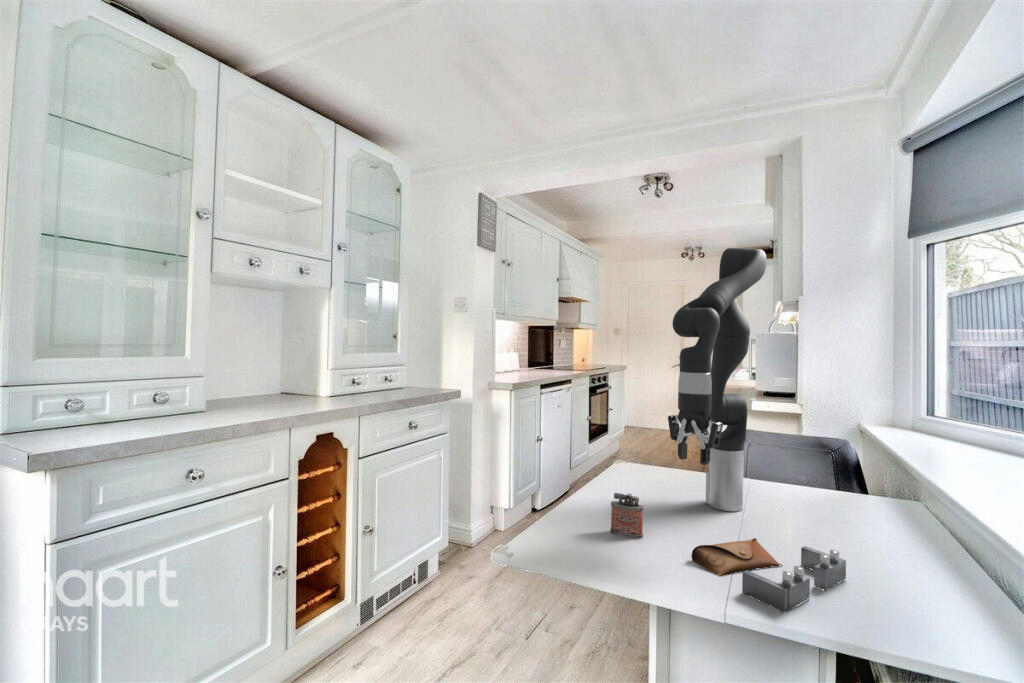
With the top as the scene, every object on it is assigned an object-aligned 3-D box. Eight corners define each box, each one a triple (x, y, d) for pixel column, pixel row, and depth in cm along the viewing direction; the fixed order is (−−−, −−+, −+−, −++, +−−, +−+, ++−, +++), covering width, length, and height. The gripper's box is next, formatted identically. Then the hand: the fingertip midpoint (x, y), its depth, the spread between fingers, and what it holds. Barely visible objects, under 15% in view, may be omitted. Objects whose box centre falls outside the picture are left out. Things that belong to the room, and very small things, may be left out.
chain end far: (783, 574, 100) (783, 545, 100) (804, 564, 105) (804, 536, 105) (825, 591, 93) (825, 560, 93) (845, 579, 98) (846, 550, 98)
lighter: (644, 535, 119) (645, 494, 119) (641, 540, 116) (642, 498, 116) (612, 529, 123) (612, 490, 123) (608, 533, 120) (609, 493, 120)
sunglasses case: (719, 577, 98) (707, 542, 101) (698, 581, 104) (687, 548, 107) (785, 565, 104) (772, 533, 107) (762, 569, 110) (750, 538, 113)
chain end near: (742, 592, 92) (742, 561, 92) (767, 581, 97) (767, 551, 97) (784, 612, 85) (785, 579, 86) (809, 599, 90) (809, 567, 90)
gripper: (731, 393, 111) (730, 466, 111) (679, 387, 124) (678, 454, 123) (711, 394, 107) (710, 470, 107) (660, 389, 119) (658, 457, 119)
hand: (693, 461), depth 115 cm, fingers open, 5 cm apart
